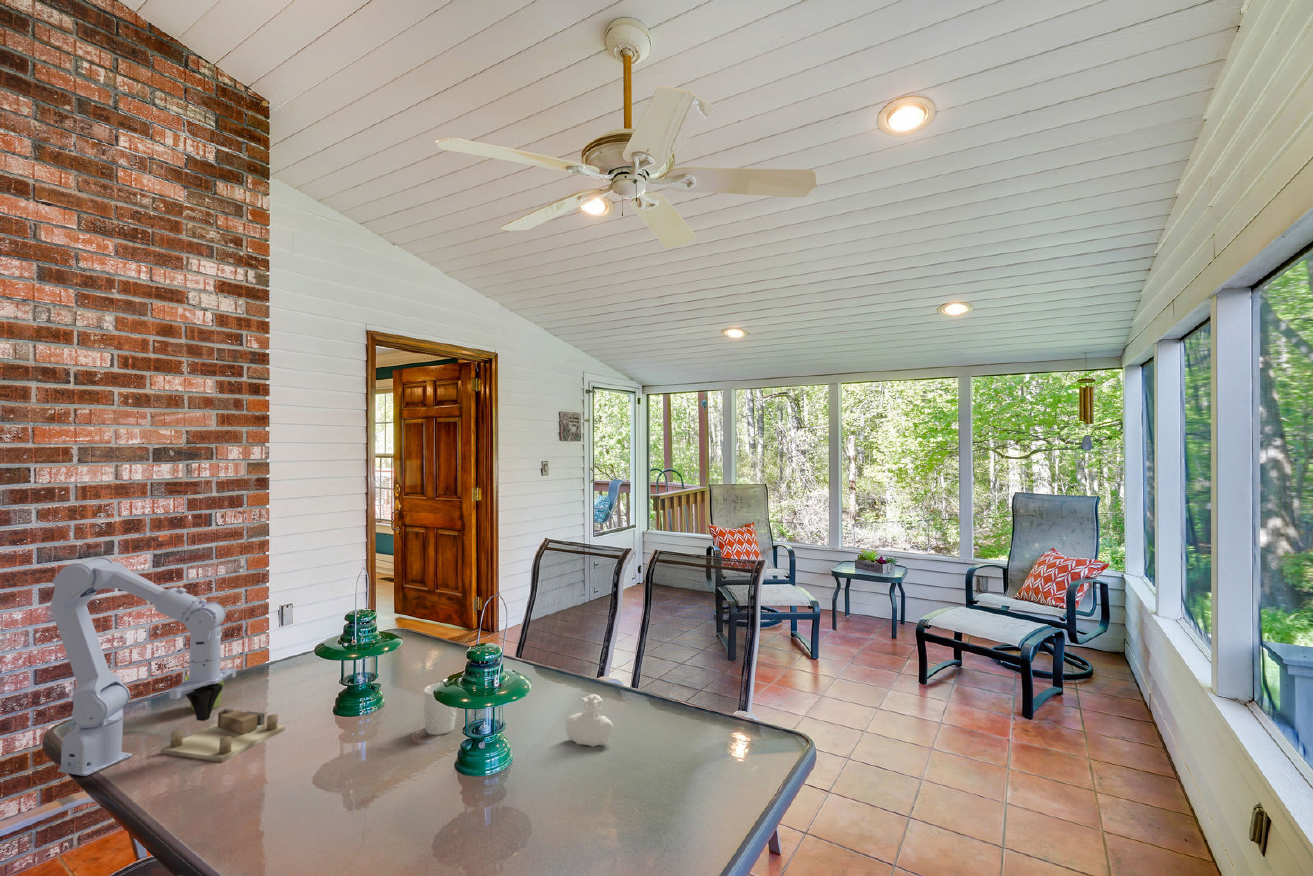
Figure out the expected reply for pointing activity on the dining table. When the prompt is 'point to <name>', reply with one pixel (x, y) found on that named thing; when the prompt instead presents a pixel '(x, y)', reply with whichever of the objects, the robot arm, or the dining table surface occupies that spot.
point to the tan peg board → (221, 740)
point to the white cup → (437, 714)
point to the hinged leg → (237, 721)
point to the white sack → (589, 724)
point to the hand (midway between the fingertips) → (203, 719)
